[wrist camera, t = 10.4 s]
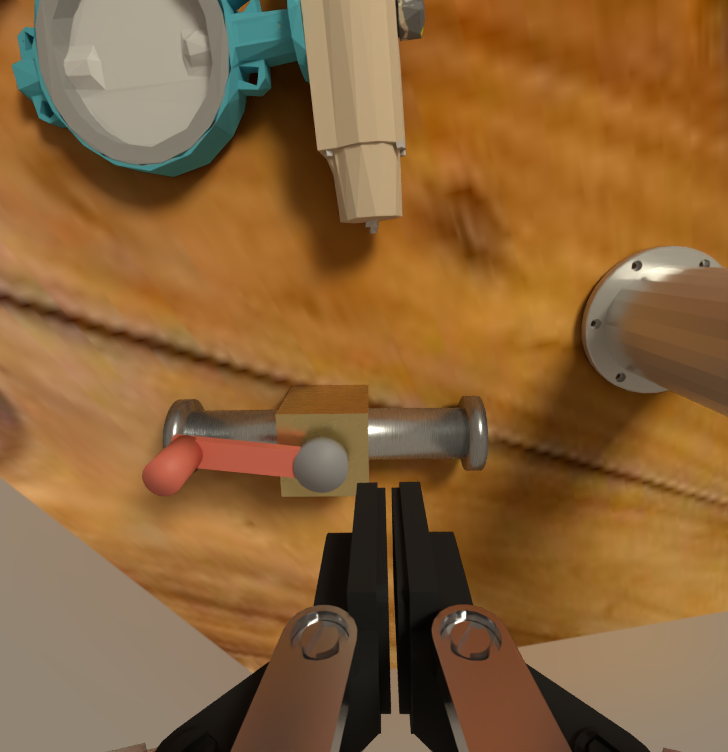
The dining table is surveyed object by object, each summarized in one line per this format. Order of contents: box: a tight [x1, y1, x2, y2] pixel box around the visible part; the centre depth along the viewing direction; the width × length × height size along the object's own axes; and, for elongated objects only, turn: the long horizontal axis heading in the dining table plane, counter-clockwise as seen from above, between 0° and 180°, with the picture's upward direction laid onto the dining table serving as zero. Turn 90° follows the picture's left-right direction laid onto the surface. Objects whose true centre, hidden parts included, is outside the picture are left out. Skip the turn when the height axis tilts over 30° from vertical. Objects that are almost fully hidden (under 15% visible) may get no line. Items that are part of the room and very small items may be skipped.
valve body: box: [163, 385, 488, 497], centre depth 38 cm, size 26×7×8 cm, turn 91°
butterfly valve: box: [12, 0, 425, 233], centre depth 32 cm, size 27×7×30 cm
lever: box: [142, 434, 349, 496], centre depth 31 cm, size 13×4×5 cm, turn 84°
